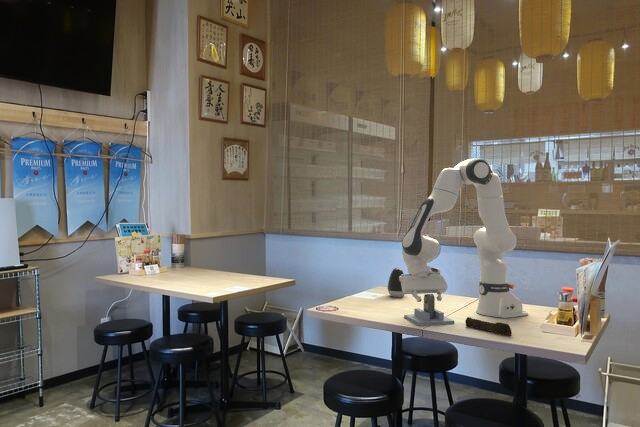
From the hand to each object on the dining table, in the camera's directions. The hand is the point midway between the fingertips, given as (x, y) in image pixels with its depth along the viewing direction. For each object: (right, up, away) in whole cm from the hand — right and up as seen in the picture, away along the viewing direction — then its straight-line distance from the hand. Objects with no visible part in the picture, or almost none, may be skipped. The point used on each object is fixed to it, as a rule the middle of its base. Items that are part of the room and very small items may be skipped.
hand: (429, 300), depth 201 cm
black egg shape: (-5, -7, +52) cm, 53 cm away
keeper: (0, -9, +1) cm, 9 cm away
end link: (0, -7, +1) cm, 7 cm away
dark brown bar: (+20, -10, -14) cm, 26 cm away
